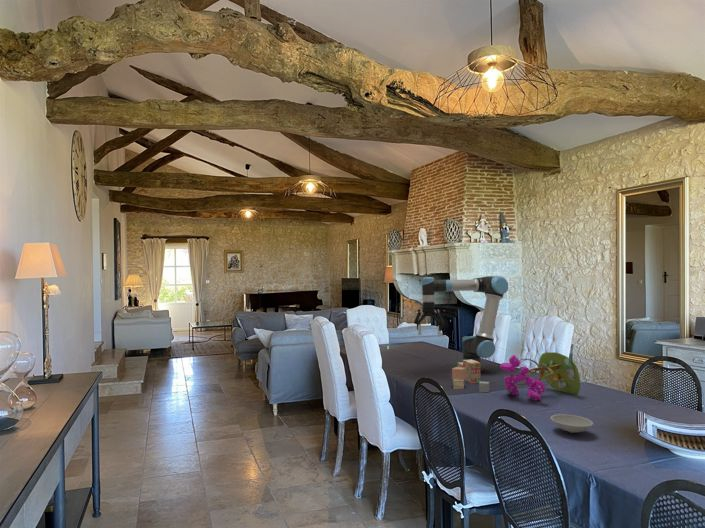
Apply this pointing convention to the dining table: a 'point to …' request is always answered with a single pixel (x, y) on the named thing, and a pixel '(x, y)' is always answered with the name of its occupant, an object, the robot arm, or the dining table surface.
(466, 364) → the stack of blocks
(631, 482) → the dining table surface
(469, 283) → the robot arm
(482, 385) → the grey cube
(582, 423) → the dish
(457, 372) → the terracotta cube
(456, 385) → the beech block
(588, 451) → the dining table surface
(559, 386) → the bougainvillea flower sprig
